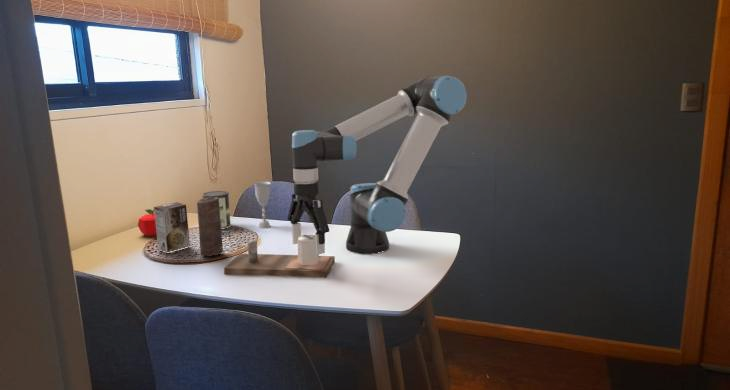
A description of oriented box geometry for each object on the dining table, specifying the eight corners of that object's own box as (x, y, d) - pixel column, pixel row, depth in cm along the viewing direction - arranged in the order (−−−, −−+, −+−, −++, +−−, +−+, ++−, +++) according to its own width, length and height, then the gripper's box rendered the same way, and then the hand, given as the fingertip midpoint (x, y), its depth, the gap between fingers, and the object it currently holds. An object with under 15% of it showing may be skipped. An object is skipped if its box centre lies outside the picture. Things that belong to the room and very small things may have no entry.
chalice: (255, 225, 217) (252, 182, 214) (271, 223, 219) (269, 181, 216) (257, 229, 211) (254, 185, 207) (274, 228, 213) (271, 184, 209)
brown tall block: (216, 259, 176) (212, 201, 171) (196, 258, 177) (191, 200, 173) (227, 252, 183) (223, 196, 179) (207, 251, 184) (203, 195, 180)
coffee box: (180, 244, 192) (177, 201, 189) (190, 248, 188) (187, 204, 185) (157, 251, 185) (153, 206, 182) (167, 254, 181) (163, 209, 178)
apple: (174, 231, 210) (172, 206, 208) (157, 238, 200) (155, 213, 198) (151, 229, 212) (148, 205, 210) (133, 237, 202) (131, 211, 200)
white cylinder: (322, 262, 165) (321, 236, 163) (305, 266, 161) (304, 240, 160) (311, 257, 170) (310, 232, 168) (295, 261, 166) (294, 236, 164)
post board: (334, 262, 172) (334, 237, 170) (326, 277, 159) (326, 250, 157) (240, 259, 176) (238, 235, 174) (224, 274, 162) (222, 248, 160)
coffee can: (218, 222, 222) (216, 189, 219) (236, 225, 217) (234, 192, 214) (199, 228, 214) (196, 194, 211) (217, 231, 208) (214, 197, 205)
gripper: (340, 186, 153) (341, 255, 157) (295, 174, 172) (297, 237, 177) (318, 189, 148) (320, 261, 153) (275, 177, 167) (278, 241, 172)
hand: (308, 248), depth 165 cm, fingers open, 13 cm apart
